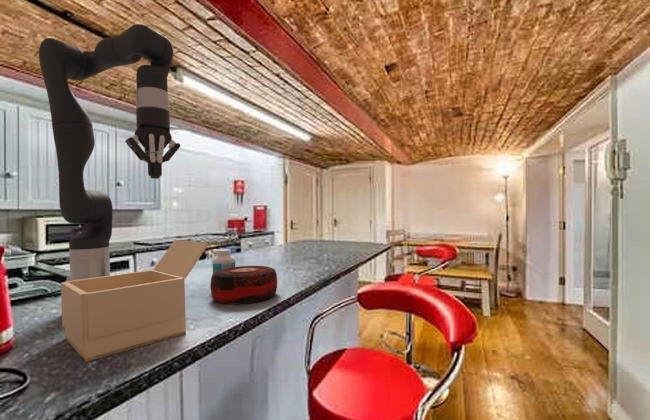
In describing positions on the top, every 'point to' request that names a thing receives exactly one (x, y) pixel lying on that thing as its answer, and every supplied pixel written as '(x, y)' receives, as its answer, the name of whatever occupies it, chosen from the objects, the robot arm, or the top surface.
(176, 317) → the carton
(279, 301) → the top surface
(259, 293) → the wheel
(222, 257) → the pill bottle
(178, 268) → the carton flap
